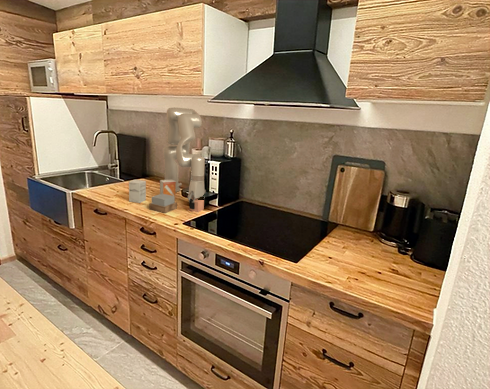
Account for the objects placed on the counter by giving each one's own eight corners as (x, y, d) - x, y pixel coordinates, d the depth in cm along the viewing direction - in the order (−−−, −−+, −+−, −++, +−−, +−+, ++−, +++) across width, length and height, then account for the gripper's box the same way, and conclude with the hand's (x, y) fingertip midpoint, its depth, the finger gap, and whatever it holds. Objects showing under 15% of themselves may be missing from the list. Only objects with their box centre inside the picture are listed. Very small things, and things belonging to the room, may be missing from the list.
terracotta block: (195, 207, 179) (195, 198, 177) (203, 209, 177) (203, 200, 175) (189, 210, 174) (189, 200, 172) (198, 212, 171) (198, 202, 170)
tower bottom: (162, 205, 179) (162, 199, 178) (177, 209, 175) (177, 202, 174) (149, 210, 170) (149, 203, 168) (165, 214, 165) (165, 207, 164)
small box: (163, 203, 183) (163, 182, 179) (159, 200, 188) (159, 180, 184) (175, 201, 187) (175, 181, 184) (172, 198, 192) (172, 179, 189)
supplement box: (128, 201, 180) (128, 181, 177) (135, 198, 187) (135, 179, 184) (139, 203, 179) (139, 183, 176) (146, 200, 186) (146, 180, 183)
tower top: (162, 200, 177) (162, 193, 176) (174, 202, 173) (174, 196, 172) (151, 203, 169) (151, 196, 168) (164, 206, 165) (164, 199, 164)
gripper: (200, 174, 179) (199, 202, 183) (182, 179, 164) (182, 209, 168) (210, 176, 176) (209, 204, 181) (194, 181, 161) (193, 211, 165)
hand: (196, 206), depth 174 cm, fingers open, 9 cm apart
